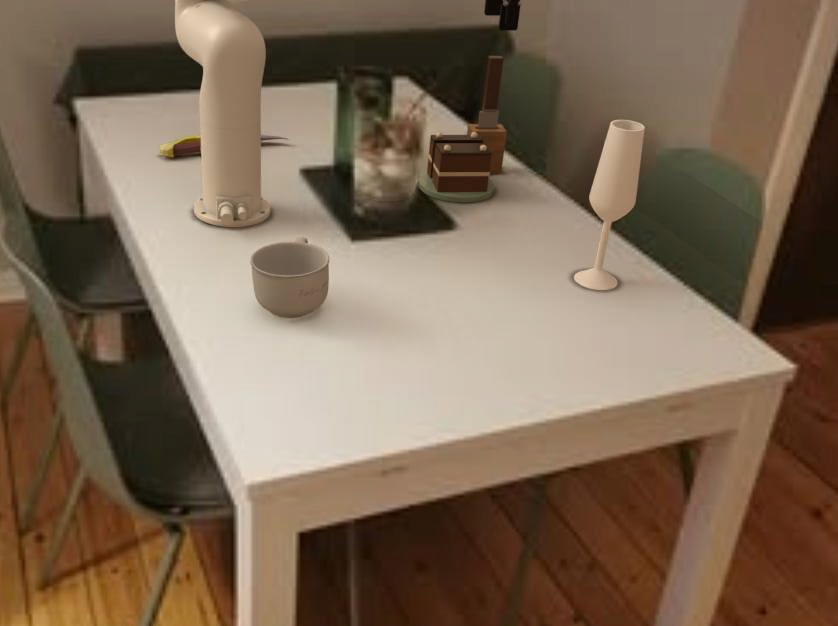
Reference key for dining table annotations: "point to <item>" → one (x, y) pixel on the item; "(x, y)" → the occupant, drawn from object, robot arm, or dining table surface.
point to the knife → (193, 145)
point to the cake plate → (429, 189)
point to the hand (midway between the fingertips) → (500, 22)
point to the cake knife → (491, 94)
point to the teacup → (290, 277)
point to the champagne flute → (613, 191)
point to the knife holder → (492, 144)
